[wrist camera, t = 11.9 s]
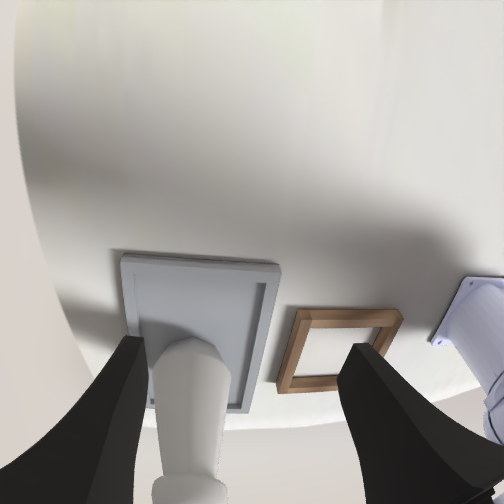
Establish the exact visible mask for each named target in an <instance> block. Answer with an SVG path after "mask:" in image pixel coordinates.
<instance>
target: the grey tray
mask: <svg viewBox="0 0 504 504" xmlns="http://www.w3.org/2000/svg"><path fill="white" fill-rule="evenodd" d="M120 268H121V278H122V288H123V297H124V305H125V312H126V320H127V326H128V333H129V336H136V337H144V343H145V351H146V358H147V365H148V372H149V383H148V393H147V403H146V408H151V409H155V402H154V391H153V378H152V370H153V367H154V365H155V364H156V362H157V360H158V359H159V357H160V356H161V355H162V354H163V352H164V351H165V350H166V349H167V348H168V346H169V345H170V344H171V343H172V342H176V341H180V340H183V339H187V338H191V337H195V338H197V339H200V340H202V341H205V342H207V343H209V344H212V345H214V346H215V347H216V348H217V350H218V352H219V354H220V355H221V357H222V359H223V360H224V362H225V364H226V365H227V367H228V369H229V370H230V373H231V383H230V389H229V396H228V403H227V410H226V413H249V410H250V406H251V402H252V398H253V394H254V390H255V386H256V382H257V378H258V373H259V369H260V365H261V361H262V357H263V353H264V348H265V344H266V340H267V335H268V331H269V327H270V322H271V318H272V313H273V309H274V305H275V300H276V296H277V291H278V286H279V282H280V277H281V270H280V267H279V265H277V264H262V263H247V262H232V261H217V260H203V259H189V258H175V257H162V256H148V255H135V254H123V256H122V258H121V260H120Z"/></svg>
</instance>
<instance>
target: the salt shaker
mask: <svg viewBox="0 0 504 504" xmlns="http://www.w3.org/2000/svg"><path fill="white" fill-rule="evenodd" d="M152 378H153V391H154V402H155V413H156V422H157V430H158V439H159V447H160V455H161V461H162V468H163V475H164V476H161V477H159V478H158V479H156V480H155V481H154V483H153V487H152V501H153V504H228V499H229V498H228V491H227V487H226V485H225V484H224V483H223V482H221V481H219V480H217V472H218V464H219V458H220V451H221V444H222V437H223V431H224V424H225V417H226V410H227V403H228V396H229V389H230V383H231V373H230V370H229V369H228V367H227V365H226V364H225V362H224V360H223V359H222V357H221V355H220V354H219V352H218V350H217V348H216V347H215V346H214V345H212V344H209V343H207V342H205V341H202V340H200V339H197V338H195V337H191V338H187V339H183V340H180V341H176V342H172V343H171V344H170V345H169V346H168V348H167V349H166V350H165V351H164V352H163V354H162V355H161V356H160V357H159V359H158V360H157V362H156V364H155V365H154V367H153V370H152Z"/></svg>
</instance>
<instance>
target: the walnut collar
mask: <svg viewBox="0 0 504 504" xmlns="http://www.w3.org/2000/svg"><path fill="white" fill-rule="evenodd" d="M403 319H404V318H403V317H402V315H401V314H400V312H399V311H398V309H393V310H324V309H298V311H297V314H296V318H295V321H294V325H293V328H292V332H291V335H290V339H289V342H288V345H287V349H286V352H285V356H284V359H283V362H282V365H281V369H280V372H279V375H278V378H277V381H276V387H277V392H278V394H289V393H309V392H324V391H337V390H338V386H337V380H336V379H337V377H338V376H323V377H302V378H293V375H294V372H295V370H296V367H297V364H298V361H299V358H300V355H301V352H302V350H303V347H304V344H305V341H306V338H307V335H308V332H309V329H310V328H366V327H382V328H381V330H380V332H379V334H378V336H377V338H376V340H375V342H374V344H373V346H372V347H373V348H374V349H375V350H376V351H377V352H378V353H379V354H380V355H381V356H382V357H384V356H385V354H386V352H387V350H388V348H389V346H390V345H391V343H392V341H393V339H394V337H395V335H396V333H397V331H398V329H399V327H400V325H401V323H402V321H403Z"/></svg>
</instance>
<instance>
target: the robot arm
mask: <svg viewBox="0 0 504 504" xmlns="http://www.w3.org/2000/svg"><path fill="white" fill-rule="evenodd" d="M447 344H453V345H454V346H455V348H456V349H457V350H458V352H459V353H460V355H461V356H462V358H463V359H464V361H465V362H466V364H467V365H468V366H469V368H470V369H471V371H472V372H473V374H474V376H475V377H476V379H477V380H478V382H479V383H480V385H481V386H482V388H483V389H484V391H485V393H486V394H487V396H488V397H487V398H486V399H485V400H484V404H485V405H486V407H487V409H486V411H485V412H484V418H483V419H484V423H483V426H484V431H485V435H486V437H487V439H486V438H484V437H482V436H479V435H477V434H476V433H474V432H472V431H470V430H468V429H467V428H465V427H464V426H462V425H460V424H459V423H457V422H456V421H454V420H453V419H451V418H450V417H448V416H447V415H445V414H444V413H443V412H442V411H440V410H439V409H437V408H436V407H435V406H434V405H433V404H431V403H430V402H429V401H428V400H427V399H425V398H424V397H423V396H422V395H421V394H420V393H419V392H418V391H416V390H415V389H414V388H413V387H412V386H411V385H410V384H409V383H408V382H407V381H406V380H405V379H404V378H403V377H402V376H401V375H400V374H399V373H398V372H397V371H396V370H395V369H394V368H393V367H392V366H391V365H390V364H389V363H388V362H387V361H386V360H385V359H384V358H383V357H382V356H381V355H380V354H379V353H378V352H377V351H376V350H375V349H374V348H373V347H372V346H371V345H370V344H369V343H354V344H353V346H352V348H351V350H350V352H349V354H348V356H347V359H346V361H345V363H344V365H343V367H342V369H341V371H340V373H339V375H338V377H337V379H336V380H337V386H338V392H339V397H340V401H341V405H342V408H343V411H344V414H345V417H346V420H347V423H348V426H349V429H350V432H351V435H352V438H353V441H354V444H355V447H356V450H357V453H358V457H359V460H360V466H361V471H362V476H363V482H364V489H365V497H366V504H504V493H503V494H501V495H500V496H498V497H497V498H495V499H494V500H492V497H491V496H492V495H494V494H495V491H494V488H493V487H494V486H495V485H497V484H498V483H499V482H501V481H502V480H504V278H486V277H466V278H464V280H463V281H462V283H461V286H460V288H459V290H458V292H457V294H456V296H455V298H454V300H453V302H452V304H451V306H450V308H449V310H448V312H447V313H446V315H445V317H444V319H443V321H442V323H441V325H440V326H439V328H438V330H437V332H436V333H435V335H434V337H433V339H432V340H431V345H432V346H439V345H447ZM148 383H149V372H148V365H147V358H146V351H145V343H144V337H136V336H127V335H126V336H125V337H123V339H122V340H121V342H120V344H119V345H118V347H117V348H116V350H115V351H114V353H113V354H112V356H111V357H110V359H109V360H108V362H107V363H106V365H105V366H104V368H103V369H102V370H101V372H100V373H99V374H98V376H97V377H96V378H95V380H94V381H93V383H92V384H91V385H90V386H89V388H88V389H87V390H86V391H85V393H84V394H83V395H82V396H81V398H80V399H79V400H78V401H77V403H76V404H75V405H74V406H73V407H72V408H71V409H70V410H69V412H68V413H67V414H66V415H65V416H64V417H63V418H62V419H61V420H60V421H59V422H58V423H57V424H56V425H55V426H54V427H53V428H52V429H51V430H50V431H49V432H48V433H47V434H46V435H45V436H44V437H42V438H41V439H40V440H39V441H38V442H37V443H36V444H34V445H33V446H32V447H31V448H29V449H28V450H27V451H25V452H24V453H23V454H22V455H20V456H19V457H18V458H16V459H15V460H14V461H12V462H11V463H9V464H8V465H6V466H4V467H3V468H1V469H0V504H133V488H134V468H135V460H136V453H137V448H138V443H139V437H140V432H141V427H142V422H143V418H144V413H145V408H146V403H147V393H148Z"/></svg>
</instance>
